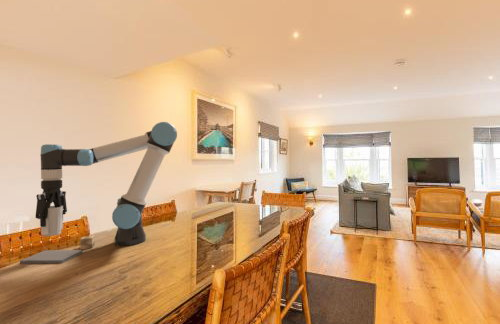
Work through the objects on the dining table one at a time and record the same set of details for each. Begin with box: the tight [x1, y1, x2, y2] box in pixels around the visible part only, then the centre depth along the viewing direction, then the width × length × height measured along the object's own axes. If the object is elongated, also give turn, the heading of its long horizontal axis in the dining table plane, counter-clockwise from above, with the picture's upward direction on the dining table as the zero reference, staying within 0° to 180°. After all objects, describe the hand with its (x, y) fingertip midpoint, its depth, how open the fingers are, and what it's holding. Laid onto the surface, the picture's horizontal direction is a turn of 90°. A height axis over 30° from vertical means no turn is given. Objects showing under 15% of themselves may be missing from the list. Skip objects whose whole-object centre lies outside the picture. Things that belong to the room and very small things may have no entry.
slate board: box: [19, 249, 84, 264], centre depth 117 cm, size 18×13×1 cm
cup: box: [42, 205, 64, 237], centre depth 117 cm, size 8×8×12 cm
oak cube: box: [79, 235, 96, 250], centre depth 131 cm, size 5×5×5 cm
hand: (52, 231), depth 117 cm, fingers closed on cup, 7 cm apart
